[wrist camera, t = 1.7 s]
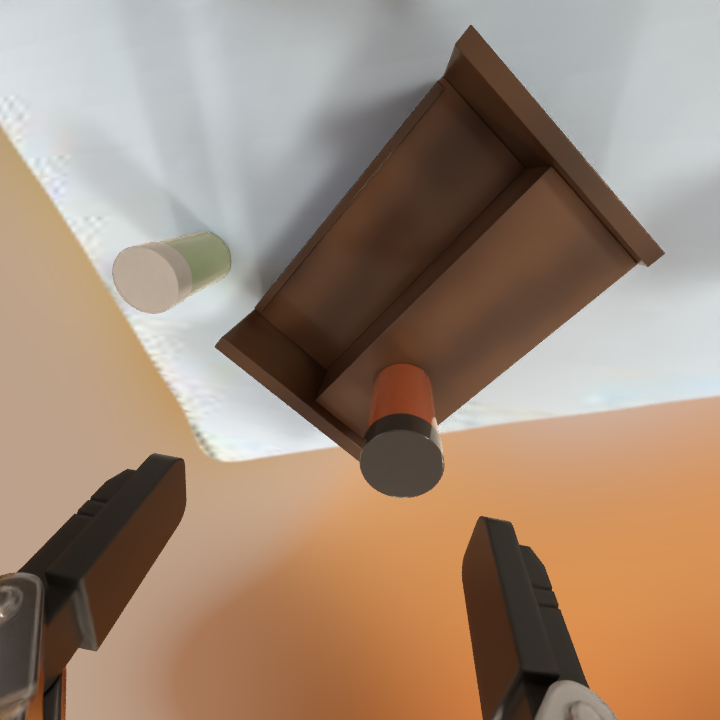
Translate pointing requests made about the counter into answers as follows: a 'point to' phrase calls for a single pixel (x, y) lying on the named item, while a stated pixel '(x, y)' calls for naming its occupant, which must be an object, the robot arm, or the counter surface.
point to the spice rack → (441, 256)
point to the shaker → (169, 270)
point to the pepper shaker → (402, 434)
